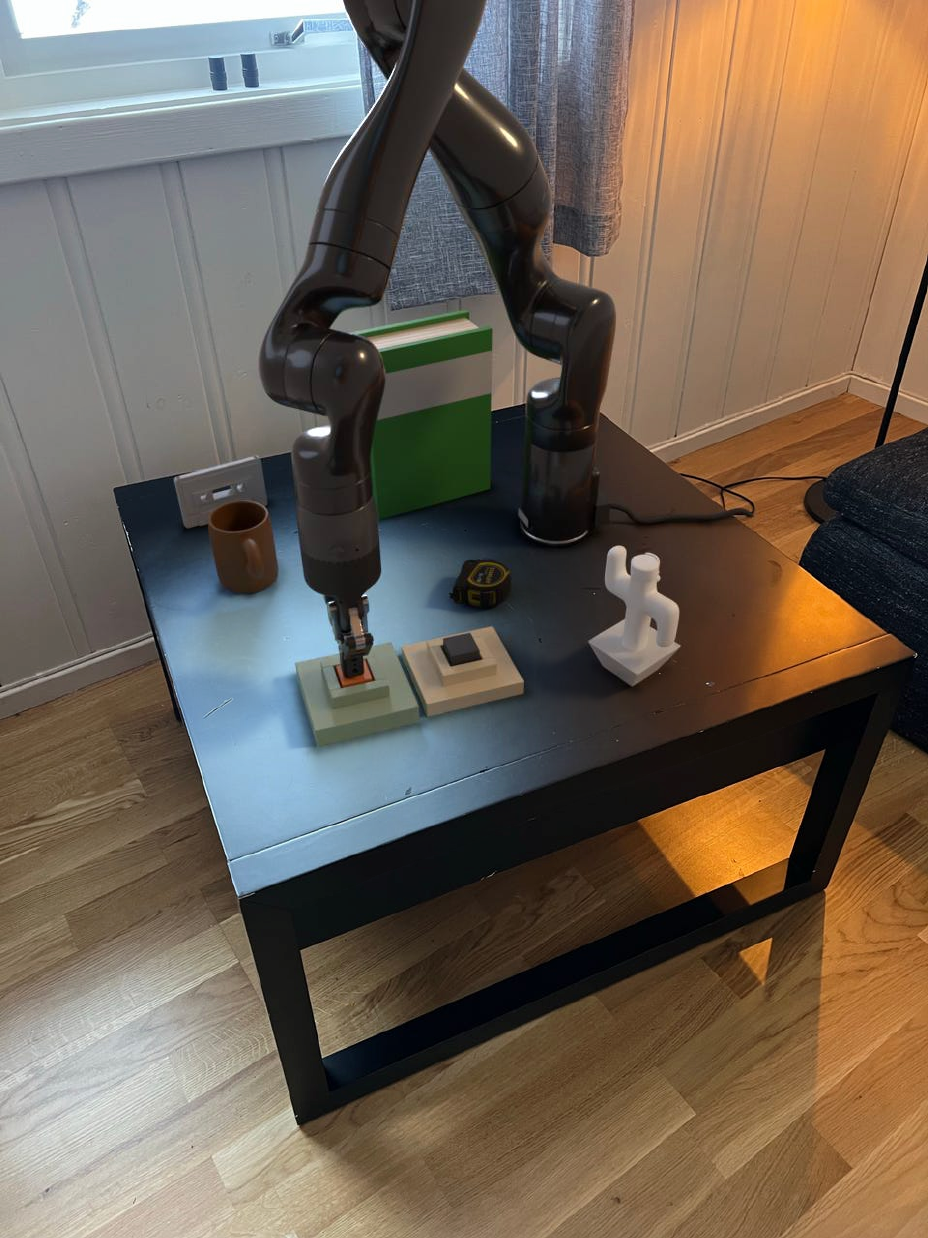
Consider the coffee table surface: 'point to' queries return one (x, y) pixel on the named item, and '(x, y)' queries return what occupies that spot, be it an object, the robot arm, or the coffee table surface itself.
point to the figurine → (637, 619)
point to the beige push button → (461, 673)
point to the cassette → (217, 477)
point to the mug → (243, 546)
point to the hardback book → (432, 412)
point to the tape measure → (482, 583)
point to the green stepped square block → (356, 697)
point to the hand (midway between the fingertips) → (353, 672)
